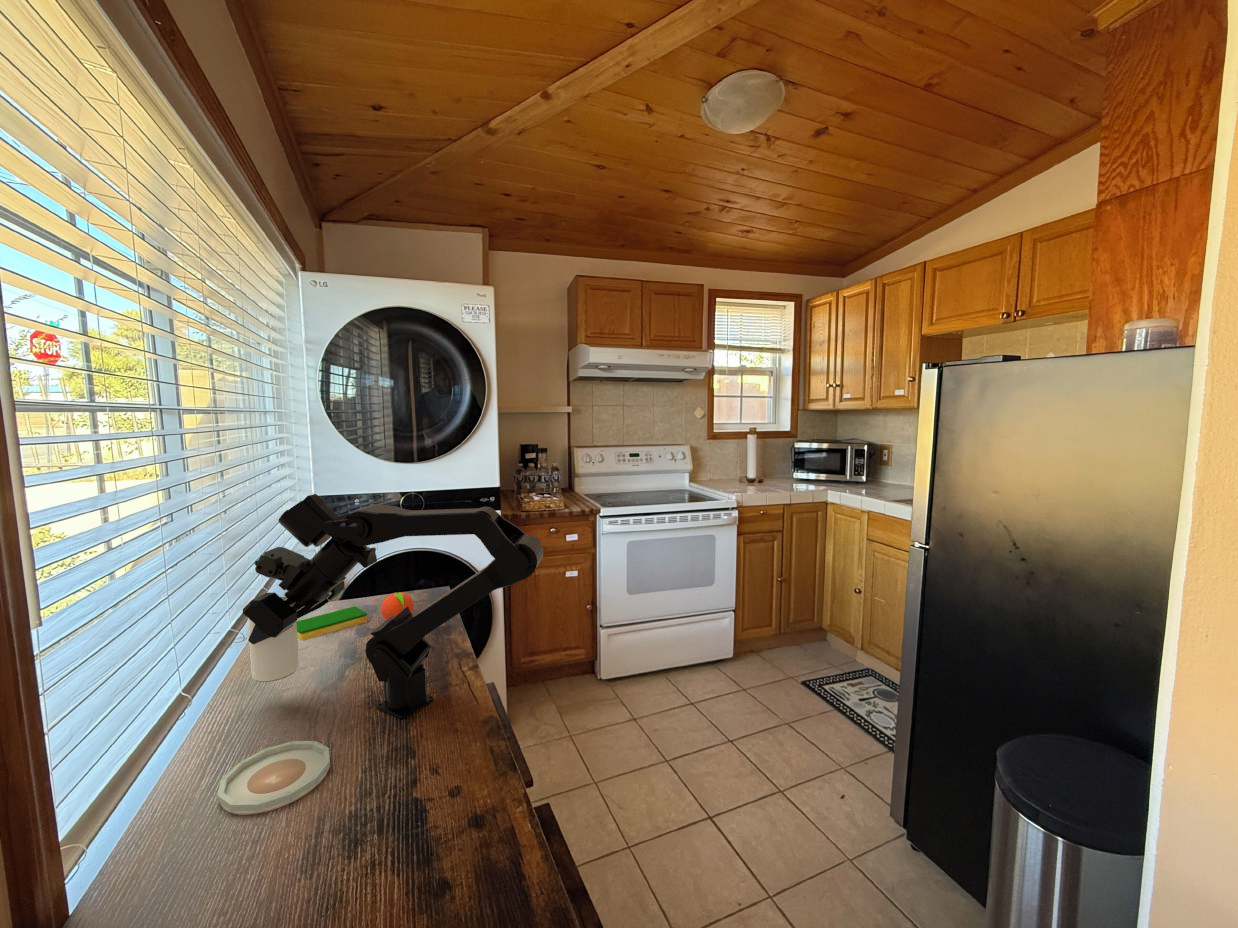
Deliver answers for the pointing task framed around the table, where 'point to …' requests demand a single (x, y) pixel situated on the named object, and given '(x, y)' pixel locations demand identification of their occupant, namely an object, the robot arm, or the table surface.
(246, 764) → the saucer
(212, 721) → the table surface
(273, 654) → the can
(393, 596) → the clementine
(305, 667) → the table surface
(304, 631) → the dish sponge
